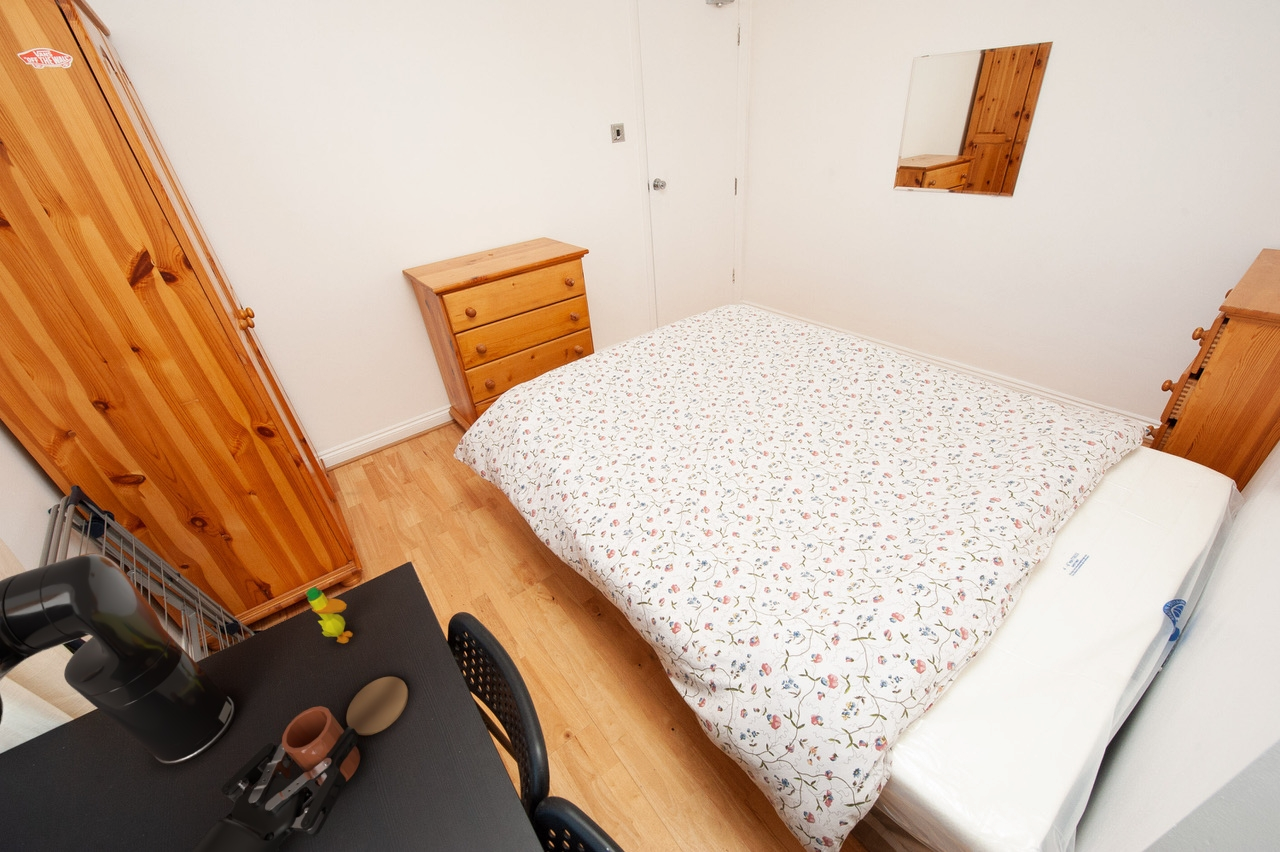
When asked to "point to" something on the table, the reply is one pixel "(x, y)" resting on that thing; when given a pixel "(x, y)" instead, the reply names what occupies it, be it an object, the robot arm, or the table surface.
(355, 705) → the trivet
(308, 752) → the pot
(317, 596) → the toy figure
